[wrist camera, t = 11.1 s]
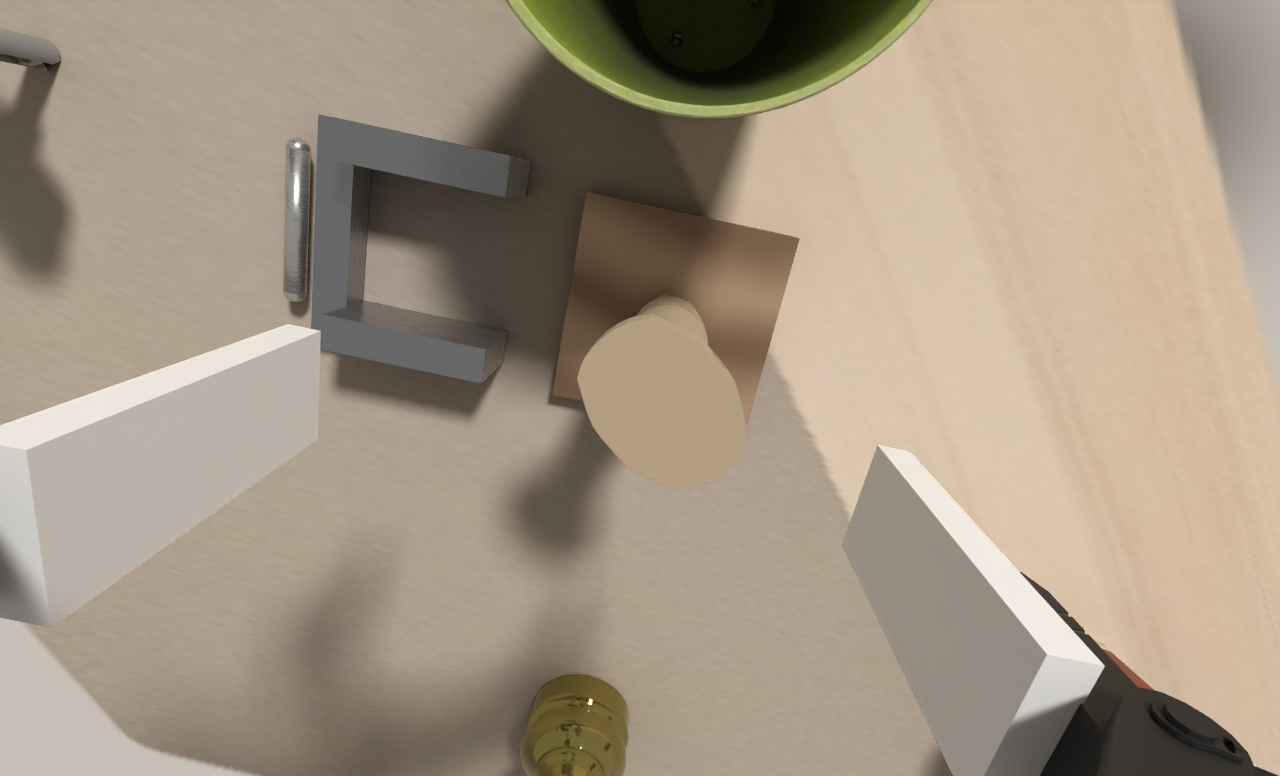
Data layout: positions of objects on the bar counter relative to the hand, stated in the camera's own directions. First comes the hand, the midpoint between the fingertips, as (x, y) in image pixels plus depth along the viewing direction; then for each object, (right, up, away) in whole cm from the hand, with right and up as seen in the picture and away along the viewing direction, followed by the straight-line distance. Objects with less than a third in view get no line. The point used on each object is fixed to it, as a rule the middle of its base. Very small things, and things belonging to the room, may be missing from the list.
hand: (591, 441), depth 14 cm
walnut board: (+3, +6, +22) cm, 23 cm away
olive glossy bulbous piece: (-3, -23, +32) cm, 40 cm away
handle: (+3, +5, +21) cm, 22 cm away
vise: (-13, +10, +21) cm, 27 cm away
